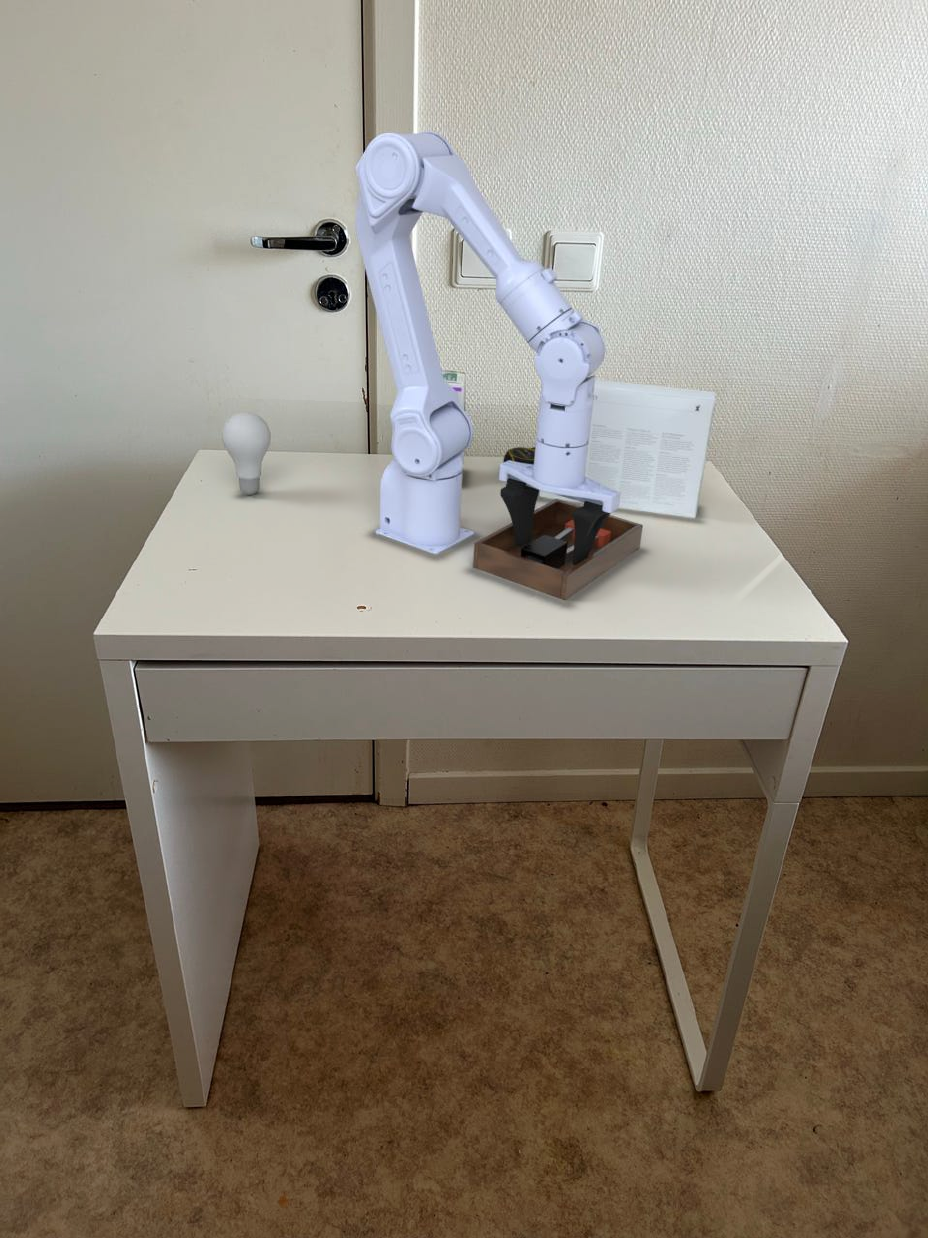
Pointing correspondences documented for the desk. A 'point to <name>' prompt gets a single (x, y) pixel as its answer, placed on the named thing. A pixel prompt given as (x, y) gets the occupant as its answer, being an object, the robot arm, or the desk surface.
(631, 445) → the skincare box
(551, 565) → the tongs
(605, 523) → the tray
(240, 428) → the lightbulb
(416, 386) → the robot arm
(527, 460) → the tape measure
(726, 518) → the desk surface
